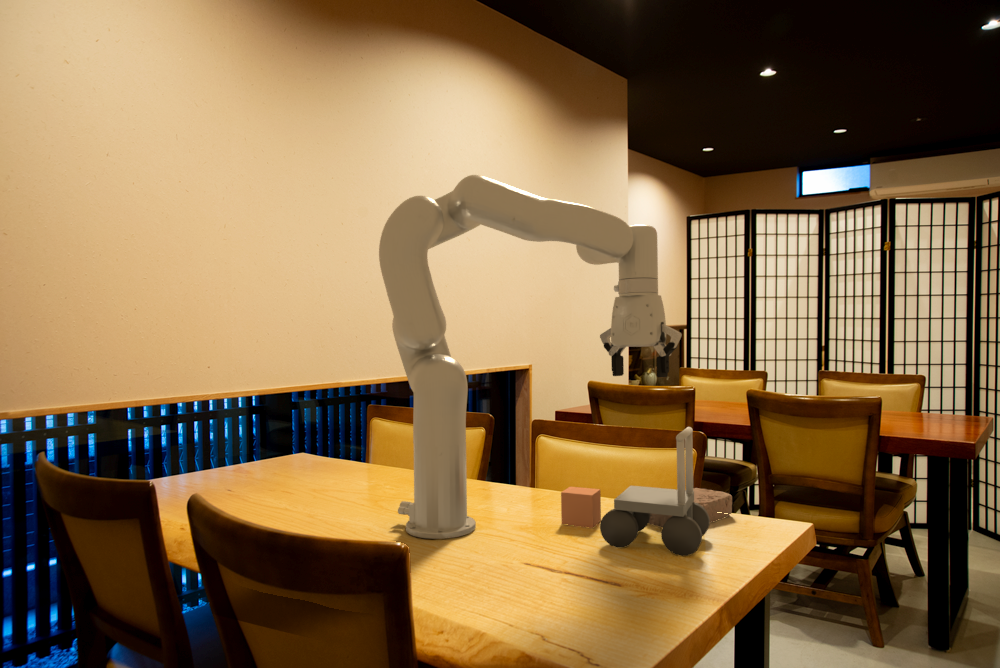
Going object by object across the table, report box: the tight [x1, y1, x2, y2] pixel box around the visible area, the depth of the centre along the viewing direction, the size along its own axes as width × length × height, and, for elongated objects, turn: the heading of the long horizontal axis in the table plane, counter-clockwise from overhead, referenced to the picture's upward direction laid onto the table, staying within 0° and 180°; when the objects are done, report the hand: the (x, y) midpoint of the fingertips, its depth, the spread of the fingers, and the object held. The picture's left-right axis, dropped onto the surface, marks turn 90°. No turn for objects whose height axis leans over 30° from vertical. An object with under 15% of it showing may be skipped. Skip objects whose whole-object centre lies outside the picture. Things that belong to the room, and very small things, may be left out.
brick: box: [647, 487, 733, 528], centre depth 119 cm, size 17×8×5 cm, turn 127°
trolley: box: [599, 426, 710, 557], centre depth 105 cm, size 16×11×19 cm
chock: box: [560, 486, 602, 529], centre depth 117 cm, size 6×5×6 cm
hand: (639, 376), depth 123 cm, fingers open, 9 cm apart
